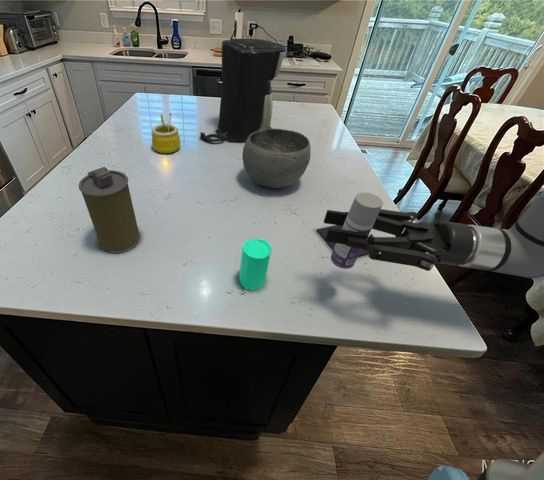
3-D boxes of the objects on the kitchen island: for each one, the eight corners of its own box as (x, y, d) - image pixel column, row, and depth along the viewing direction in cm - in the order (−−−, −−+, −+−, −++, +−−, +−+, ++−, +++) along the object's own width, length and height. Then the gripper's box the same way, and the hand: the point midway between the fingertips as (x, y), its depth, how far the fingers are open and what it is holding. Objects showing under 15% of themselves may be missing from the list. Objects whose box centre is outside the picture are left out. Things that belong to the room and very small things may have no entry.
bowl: (313, 180, 102) (325, 138, 91) (281, 207, 89) (291, 162, 79) (263, 160, 111) (268, 120, 101) (228, 182, 99) (230, 139, 89)
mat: (381, 251, 77) (381, 249, 76) (342, 261, 74) (342, 259, 73) (352, 223, 85) (353, 221, 84) (316, 230, 82) (317, 229, 81)
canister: (148, 240, 77) (134, 172, 63) (111, 259, 71) (87, 189, 58) (126, 220, 82) (110, 154, 69) (91, 237, 77) (65, 168, 63)
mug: (174, 157, 111) (171, 125, 102) (147, 152, 113) (143, 120, 105) (187, 143, 120) (185, 113, 111) (163, 139, 122) (159, 109, 114)
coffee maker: (281, 130, 133) (296, 41, 110) (240, 155, 113) (248, 54, 90) (240, 117, 142) (246, 33, 119) (196, 138, 123) (193, 43, 100)
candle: (265, 271, 70) (272, 234, 62) (264, 291, 66) (272, 254, 58) (240, 268, 71) (244, 231, 62) (238, 288, 66) (241, 250, 58)
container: (353, 254, 61) (381, 194, 51) (355, 271, 58) (385, 210, 48) (330, 250, 62) (353, 190, 52) (330, 266, 59) (355, 205, 48)
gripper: (468, 298, 48) (323, 273, 51) (434, 229, 61) (319, 212, 64) (499, 267, 43) (335, 242, 46) (454, 199, 56) (329, 183, 59)
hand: (326, 225), depth 55 cm, fingers closed on container, 5 cm apart
